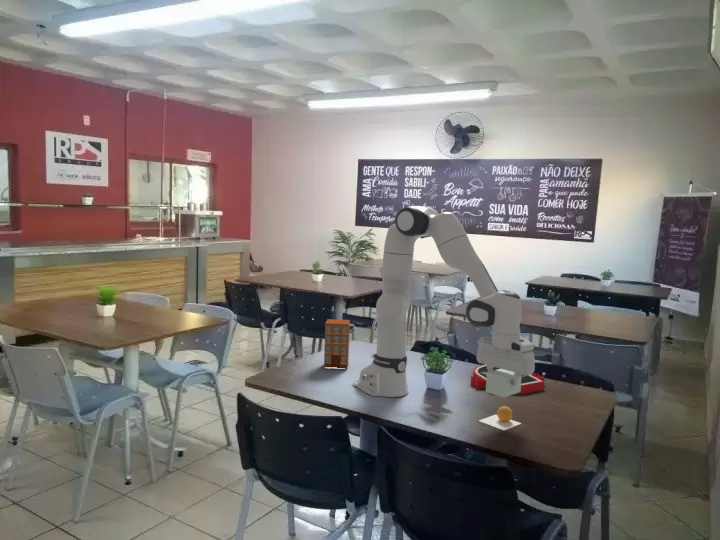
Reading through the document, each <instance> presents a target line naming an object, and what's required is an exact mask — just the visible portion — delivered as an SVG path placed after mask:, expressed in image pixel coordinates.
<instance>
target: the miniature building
mask: <svg viewBox="0 0 720 540" xmlns="http://www.w3.org/2000/svg"><path fill="white" fill-rule="evenodd" d="M324 324H325V325H324V354H323V355H324V356H323V368H324V367H337V368H345V369H347V370H348V368H347V367H349V356H350V355H349V354H350V332H351V331H350V330H351V329H350V328H351V320H349V319H329V318H327V319H326V321H325V323H324Z"/></svg>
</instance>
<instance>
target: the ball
mask: <svg viewBox="0 0 720 540" xmlns="http://www.w3.org/2000/svg"><path fill="white" fill-rule="evenodd" d="M496 415H497V416H498V418H499V419H500V420H501V421H503V422H507V421H509V420H512V418H513V416H514V415H513V411H512V409H511V408H510V407H508V406H505V405H504V406H500V407H499V408H498V409H497V412H496Z"/></svg>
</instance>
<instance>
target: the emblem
mask: <svg viewBox="0 0 720 540" xmlns="http://www.w3.org/2000/svg"><path fill="white" fill-rule="evenodd" d="M497 369H500V368H497V367H494V368H493V371H494V370H497ZM487 372H488V369H487V365H486V364H481V365H478V366H476V367H474V368H473V371H472V373H473V374H472V375H471V376H470V385H471V386H473V387H474V388H475V389H477V390H479V389H480V388H481V389H485V390H486V379H487ZM543 390H545V377H544V376H542V375H540V374H539V373H532V374H530V375H523V374H522V378H521V392H519V393H516V394H517V395H524V394H528V393H532V392H533V393H534V392H538V391H539V392H540V391H543ZM516 394H515V395H516Z"/></svg>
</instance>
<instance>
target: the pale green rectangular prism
mask: <svg viewBox="0 0 720 540" xmlns="http://www.w3.org/2000/svg"><path fill="white" fill-rule="evenodd" d="M515 377H516V376H515V375H514V372H512V371H508V370H504V369H497V370H494V371H490V372H487V379H486V389H485V393H488V394H491V395H495V396H497V397H501V398H506V397H510V396H512V395H516V393H519V392H521V378H522V376H521V377H520V378H519V380H518V385H517V386H514V385H511V380H512V379H514V378H515Z"/></svg>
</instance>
